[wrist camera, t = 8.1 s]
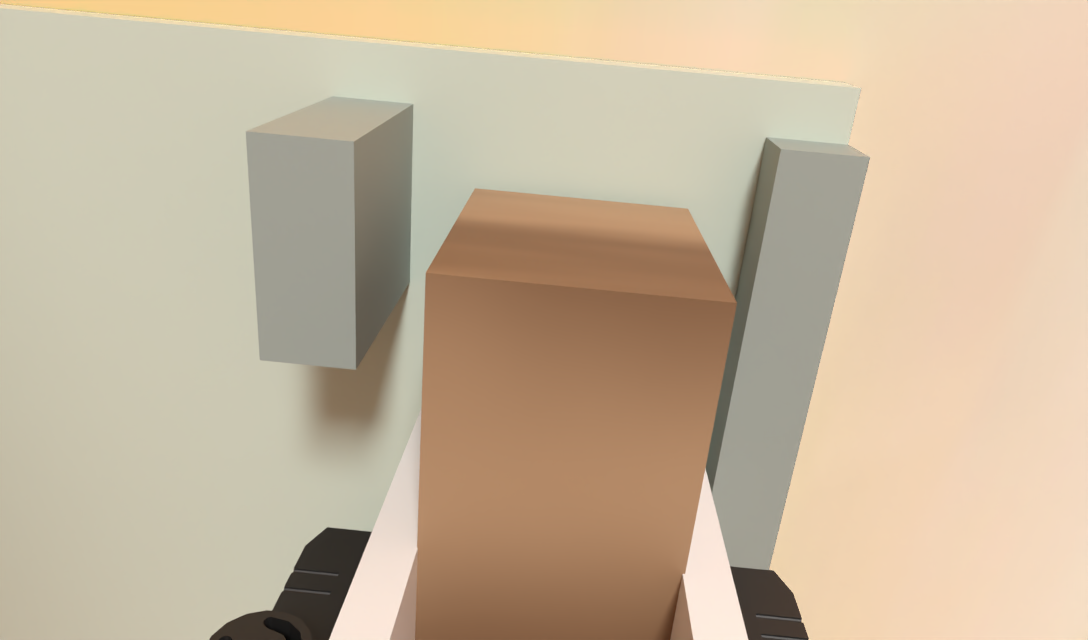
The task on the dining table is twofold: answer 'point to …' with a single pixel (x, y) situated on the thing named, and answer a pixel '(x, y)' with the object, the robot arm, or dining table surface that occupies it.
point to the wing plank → (564, 417)
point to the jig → (335, 284)
